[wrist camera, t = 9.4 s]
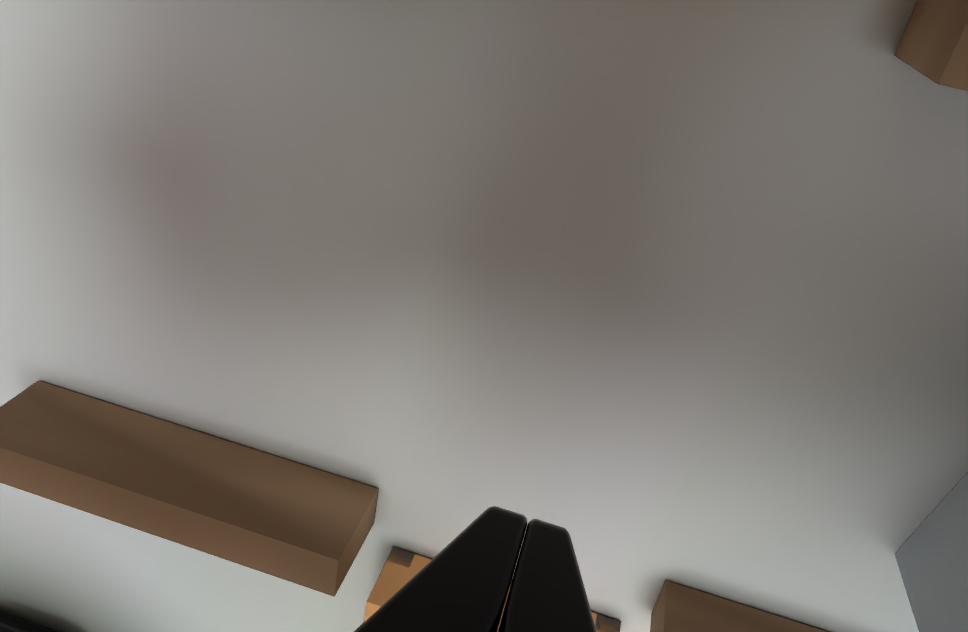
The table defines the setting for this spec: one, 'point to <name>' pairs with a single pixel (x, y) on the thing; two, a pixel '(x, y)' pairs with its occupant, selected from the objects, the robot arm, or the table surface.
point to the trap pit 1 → (407, 565)
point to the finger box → (295, 487)
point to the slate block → (939, 565)
